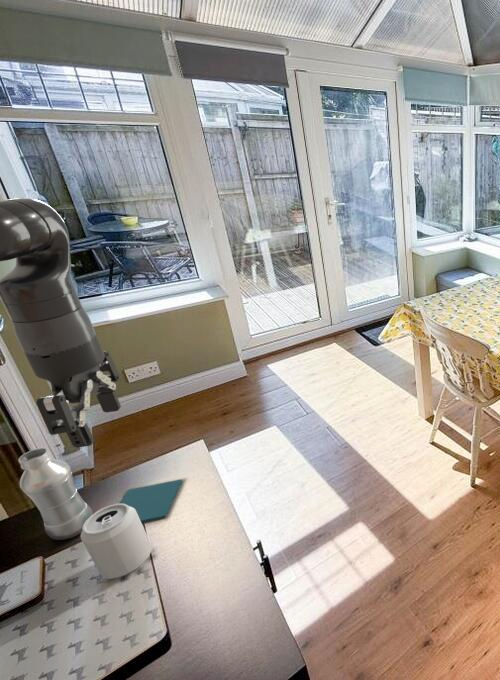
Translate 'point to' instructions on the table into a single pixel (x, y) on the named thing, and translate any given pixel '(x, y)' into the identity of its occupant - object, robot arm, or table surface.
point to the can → (116, 540)
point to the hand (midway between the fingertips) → (99, 426)
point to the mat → (152, 500)
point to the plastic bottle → (53, 494)
